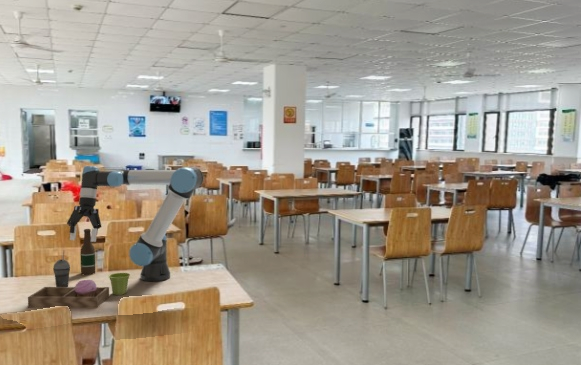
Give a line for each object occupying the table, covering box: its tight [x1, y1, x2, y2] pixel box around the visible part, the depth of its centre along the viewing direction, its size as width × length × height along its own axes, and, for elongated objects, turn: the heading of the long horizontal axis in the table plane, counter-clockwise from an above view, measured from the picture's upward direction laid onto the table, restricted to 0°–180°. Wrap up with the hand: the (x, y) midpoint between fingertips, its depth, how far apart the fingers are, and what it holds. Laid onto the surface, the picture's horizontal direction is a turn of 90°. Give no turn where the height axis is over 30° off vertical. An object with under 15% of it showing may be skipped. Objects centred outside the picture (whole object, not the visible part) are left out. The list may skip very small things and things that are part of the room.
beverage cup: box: [53, 250, 71, 287], centre depth 229 cm, size 7×7×20 cm
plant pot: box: [108, 272, 131, 296], centre depth 229 cm, size 9×9×9 cm
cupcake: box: [74, 279, 98, 297], centre depth 216 cm, size 9×9×10 cm
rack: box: [27, 286, 110, 309], centre depth 216 cm, size 29×15×4 cm, turn 91°
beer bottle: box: [79, 228, 96, 276], centre depth 263 cm, size 8×8×24 cm
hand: (83, 241), depth 237 cm, fingers open, 13 cm apart
